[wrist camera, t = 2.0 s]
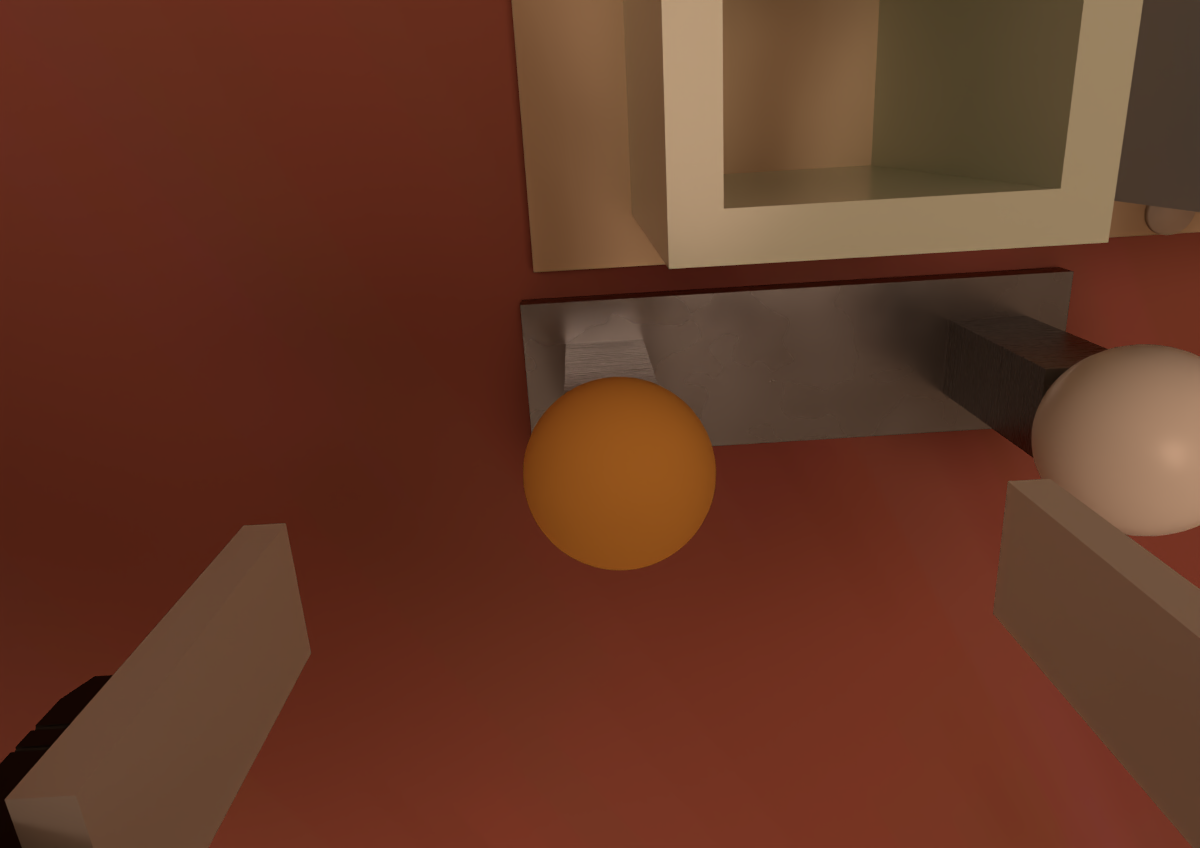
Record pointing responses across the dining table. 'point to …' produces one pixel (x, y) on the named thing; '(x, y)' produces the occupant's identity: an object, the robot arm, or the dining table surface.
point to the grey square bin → (1164, 110)
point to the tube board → (750, 116)
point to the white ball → (1126, 437)
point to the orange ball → (619, 473)
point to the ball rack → (822, 353)
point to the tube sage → (893, 136)
